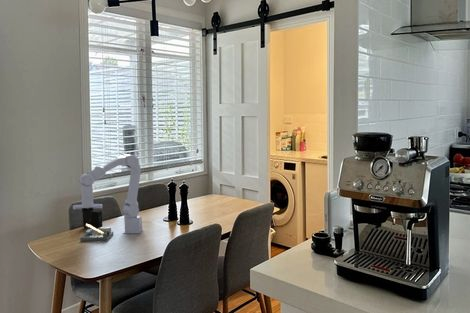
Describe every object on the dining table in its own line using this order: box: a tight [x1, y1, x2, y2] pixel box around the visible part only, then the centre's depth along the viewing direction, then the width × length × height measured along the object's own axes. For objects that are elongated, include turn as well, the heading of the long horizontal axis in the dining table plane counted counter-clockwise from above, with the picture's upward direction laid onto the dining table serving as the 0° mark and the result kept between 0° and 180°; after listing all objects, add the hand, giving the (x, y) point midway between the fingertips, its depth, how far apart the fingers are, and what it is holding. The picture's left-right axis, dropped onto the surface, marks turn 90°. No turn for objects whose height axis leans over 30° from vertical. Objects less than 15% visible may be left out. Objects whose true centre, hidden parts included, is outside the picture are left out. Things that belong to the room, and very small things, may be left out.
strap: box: [85, 224, 108, 235], centre depth 215 cm, size 12×2×1 cm, turn 92°
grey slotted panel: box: [80, 226, 114, 243], centre depth 218 cm, size 14×11×4 cm
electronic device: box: [82, 209, 103, 230], centre depth 239 cm, size 4×10×10 cm, turn 78°
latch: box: [85, 228, 94, 234], centre depth 219 cm, size 2×4×2 cm, turn 0°
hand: (88, 222), depth 214 cm, fingers closed
